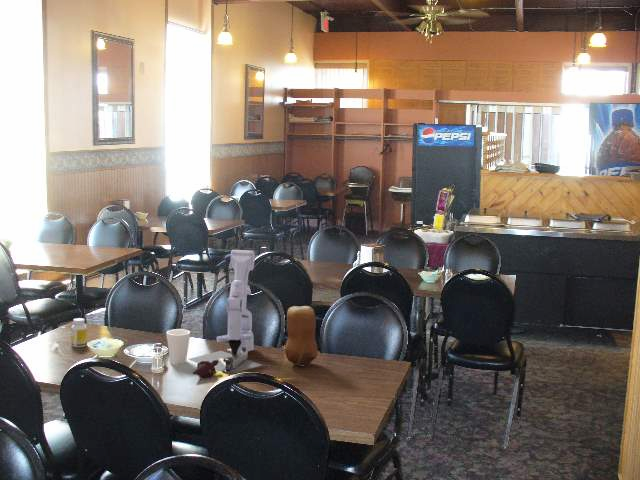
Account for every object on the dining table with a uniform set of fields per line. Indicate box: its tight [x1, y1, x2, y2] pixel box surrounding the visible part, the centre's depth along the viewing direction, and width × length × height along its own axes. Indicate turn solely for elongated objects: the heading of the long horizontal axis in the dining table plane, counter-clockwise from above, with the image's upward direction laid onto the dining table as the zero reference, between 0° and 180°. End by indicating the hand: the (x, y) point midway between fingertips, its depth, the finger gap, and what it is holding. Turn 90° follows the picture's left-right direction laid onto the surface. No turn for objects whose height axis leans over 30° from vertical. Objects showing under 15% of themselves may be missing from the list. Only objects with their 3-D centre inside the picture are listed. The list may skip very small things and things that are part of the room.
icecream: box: [192, 360, 218, 379], centre depth 301 cm, size 7×7×15 cm
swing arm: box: [223, 347, 249, 369], centre depth 315 cm, size 20×4×4 cm, turn 164°
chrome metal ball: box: [221, 363, 235, 374], centre depth 308 cm, size 5×5×4 cm
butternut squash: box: [284, 305, 319, 367], centre depth 320 cm, size 14×13×25 cm
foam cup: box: [166, 328, 191, 366], centre depth 317 cm, size 10×9×13 cm
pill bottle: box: [70, 317, 88, 348], centre depth 336 cm, size 6×6×12 cm
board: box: [188, 350, 263, 375], centre depth 320 cm, size 18×26×1 cm
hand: (234, 357), depth 321 cm, fingers closed
